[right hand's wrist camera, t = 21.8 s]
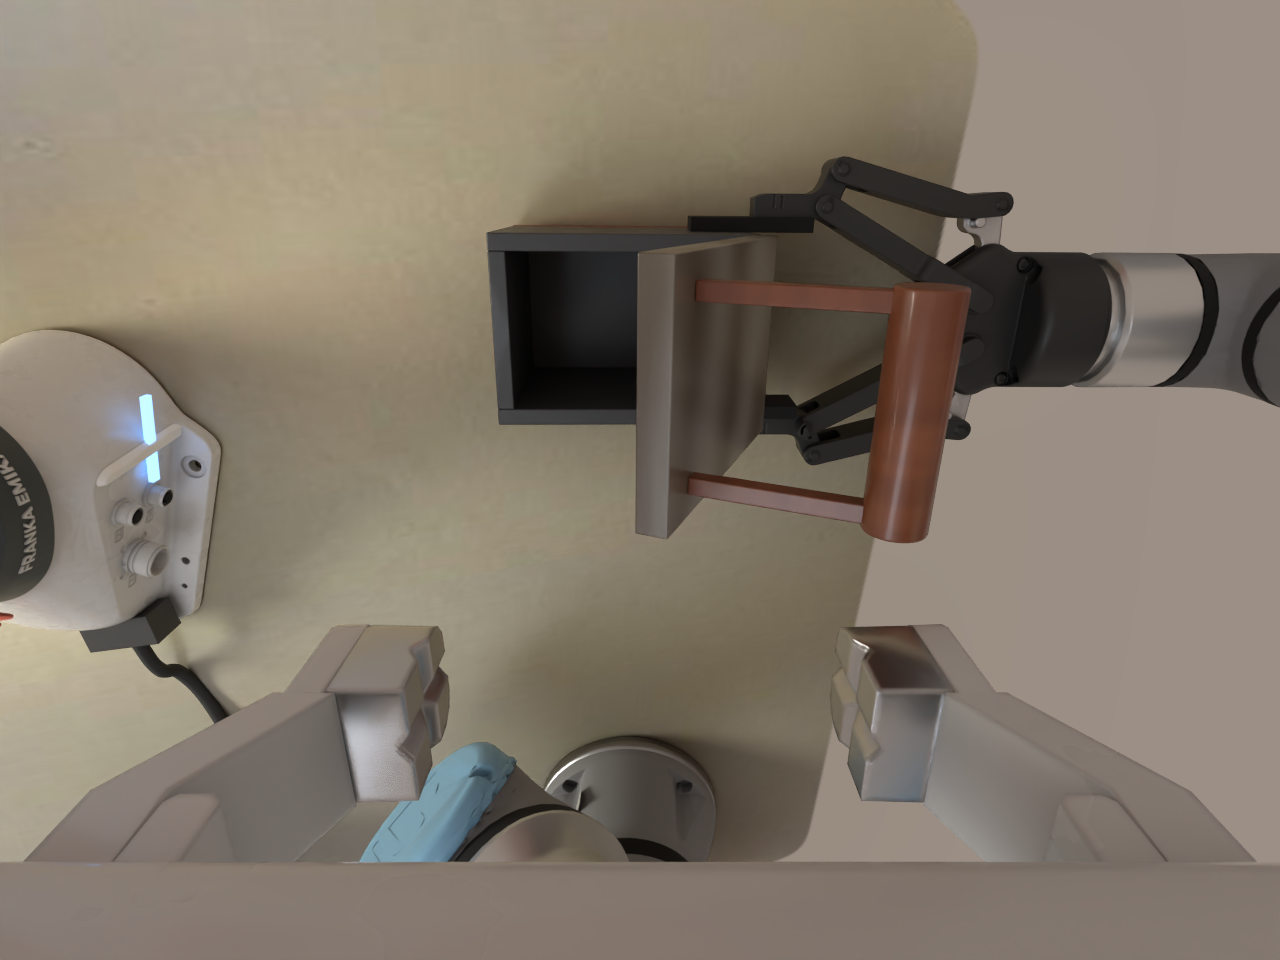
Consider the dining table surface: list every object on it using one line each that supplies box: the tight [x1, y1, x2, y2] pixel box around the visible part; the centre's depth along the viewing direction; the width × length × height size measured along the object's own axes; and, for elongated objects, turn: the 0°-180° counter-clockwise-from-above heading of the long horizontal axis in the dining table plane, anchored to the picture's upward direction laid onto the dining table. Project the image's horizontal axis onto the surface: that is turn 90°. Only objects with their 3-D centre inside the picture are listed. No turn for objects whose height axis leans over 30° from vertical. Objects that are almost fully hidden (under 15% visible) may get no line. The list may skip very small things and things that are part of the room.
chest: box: [486, 225, 759, 425], centre depth 41 cm, size 13×10×11 cm
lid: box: [636, 235, 971, 543], centre depth 28 cm, size 14×10×10 cm
